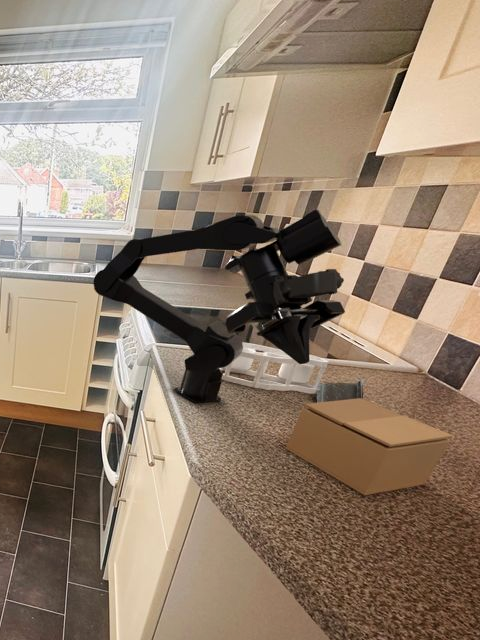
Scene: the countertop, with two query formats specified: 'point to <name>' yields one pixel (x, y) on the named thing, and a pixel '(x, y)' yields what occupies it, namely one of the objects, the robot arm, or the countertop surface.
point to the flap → (350, 410)
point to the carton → (369, 450)
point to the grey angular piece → (339, 391)
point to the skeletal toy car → (288, 372)
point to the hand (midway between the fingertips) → (304, 363)
